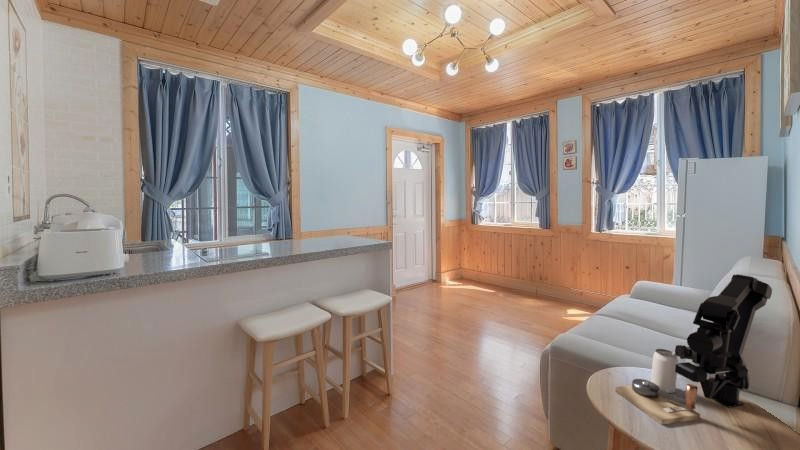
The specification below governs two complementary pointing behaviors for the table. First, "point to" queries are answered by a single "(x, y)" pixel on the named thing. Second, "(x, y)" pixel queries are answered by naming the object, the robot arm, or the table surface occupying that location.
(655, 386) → the lever
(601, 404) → the table surface
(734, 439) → the table surface
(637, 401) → the stand
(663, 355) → the can
